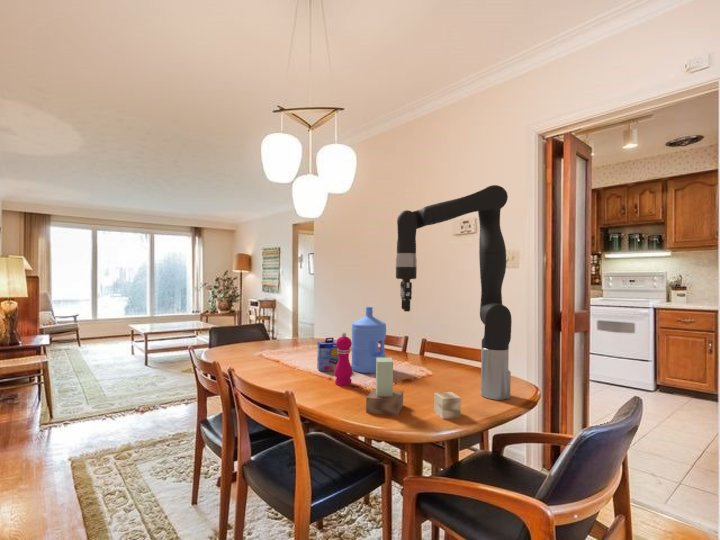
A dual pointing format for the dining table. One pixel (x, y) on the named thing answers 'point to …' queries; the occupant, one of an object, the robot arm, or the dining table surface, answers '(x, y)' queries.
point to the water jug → (367, 342)
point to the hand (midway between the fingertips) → (405, 310)
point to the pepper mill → (343, 362)
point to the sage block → (384, 376)
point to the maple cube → (447, 405)
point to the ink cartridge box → (327, 355)
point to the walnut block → (384, 403)
